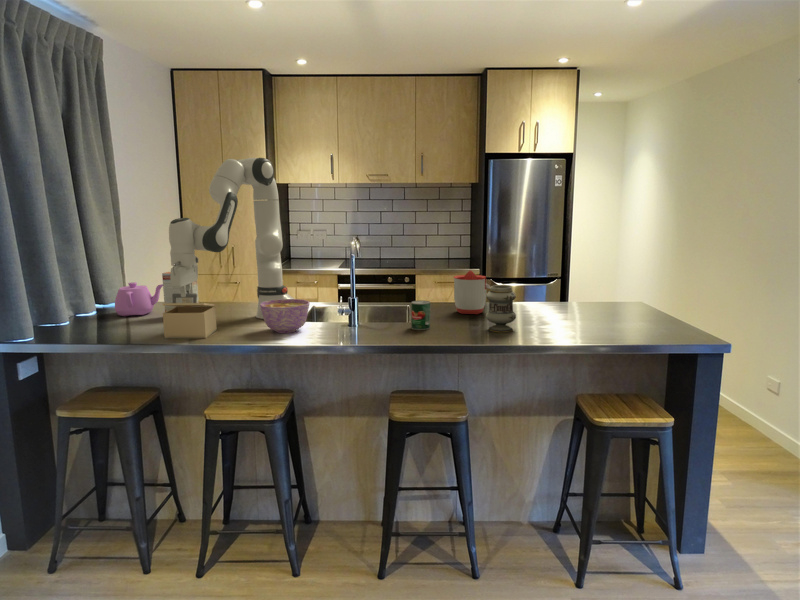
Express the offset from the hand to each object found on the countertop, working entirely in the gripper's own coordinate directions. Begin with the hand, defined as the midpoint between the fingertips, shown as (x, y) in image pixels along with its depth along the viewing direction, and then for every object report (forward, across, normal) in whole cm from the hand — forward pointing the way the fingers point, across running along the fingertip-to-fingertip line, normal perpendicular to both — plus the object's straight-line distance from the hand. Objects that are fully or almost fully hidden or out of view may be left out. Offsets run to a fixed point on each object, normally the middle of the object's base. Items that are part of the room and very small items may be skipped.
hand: (185, 295), depth 227 cm
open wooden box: (+16, +4, 0) cm, 17 cm away
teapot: (+16, +48, +41) cm, 65 cm away
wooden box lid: (+5, +4, 0) cm, 6 cm away
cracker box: (+16, +39, +16) cm, 45 cm away
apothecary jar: (+17, +7, -125) cm, 126 cm away
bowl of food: (+17, +9, -37) cm, 41 cm away
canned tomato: (+17, +12, -92) cm, 95 cm away
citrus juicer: (+17, +44, -118) cm, 127 cm away
